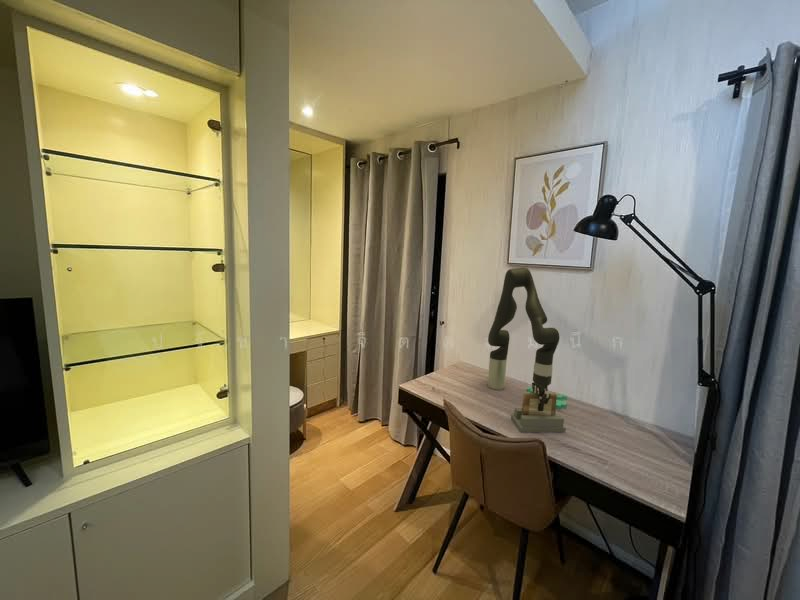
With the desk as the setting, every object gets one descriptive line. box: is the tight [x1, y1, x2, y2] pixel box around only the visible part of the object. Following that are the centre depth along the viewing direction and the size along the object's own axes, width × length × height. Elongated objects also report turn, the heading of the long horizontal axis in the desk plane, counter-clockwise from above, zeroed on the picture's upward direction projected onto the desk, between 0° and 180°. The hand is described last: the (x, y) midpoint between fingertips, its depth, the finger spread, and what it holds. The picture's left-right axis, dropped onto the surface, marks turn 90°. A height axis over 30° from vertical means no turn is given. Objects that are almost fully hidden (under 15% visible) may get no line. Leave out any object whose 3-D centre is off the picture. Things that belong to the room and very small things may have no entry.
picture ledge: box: [510, 407, 567, 433], centre depth 152 cm, size 11×20×6 cm, turn 93°
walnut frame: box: [521, 392, 558, 415], centre depth 151 cm, size 3×14×12 cm, turn 93°
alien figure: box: [526, 387, 568, 411], centre depth 177 cm, size 20×2×20 cm
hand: (538, 408), depth 151 cm, fingers closed on walnut frame, 2 cm apart
